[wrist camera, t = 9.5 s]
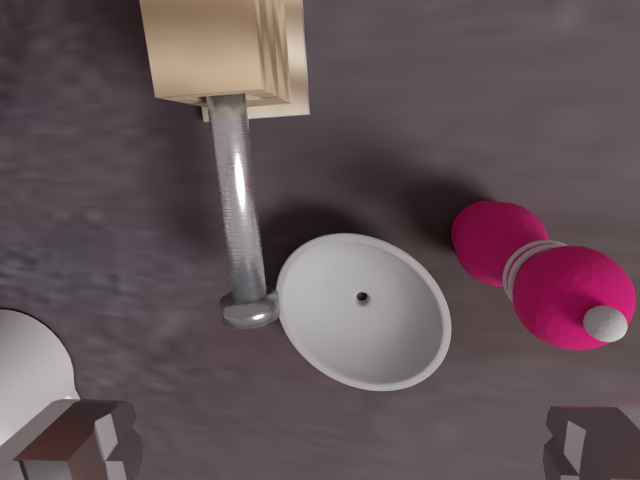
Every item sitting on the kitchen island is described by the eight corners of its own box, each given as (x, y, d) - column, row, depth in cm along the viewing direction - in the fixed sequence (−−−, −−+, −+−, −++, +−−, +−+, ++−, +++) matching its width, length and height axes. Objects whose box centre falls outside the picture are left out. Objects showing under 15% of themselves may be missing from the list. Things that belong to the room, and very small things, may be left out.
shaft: (285, 302, 34) (274, 328, 30) (232, 303, 35) (213, 329, 30) (255, -14, 28) (235, -43, 23) (192, -7, 28) (160, -35, 24)
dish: (255, 288, 41) (242, 308, 37) (344, 188, 38) (343, 196, 33) (376, 388, 43) (379, 419, 38) (472, 301, 40) (489, 324, 35)
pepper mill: (435, 257, 39) (514, 377, 19) (458, 187, 37) (570, 244, 18) (506, 274, 38) (657, 412, 19) (533, 204, 37) (730, 281, 17)
